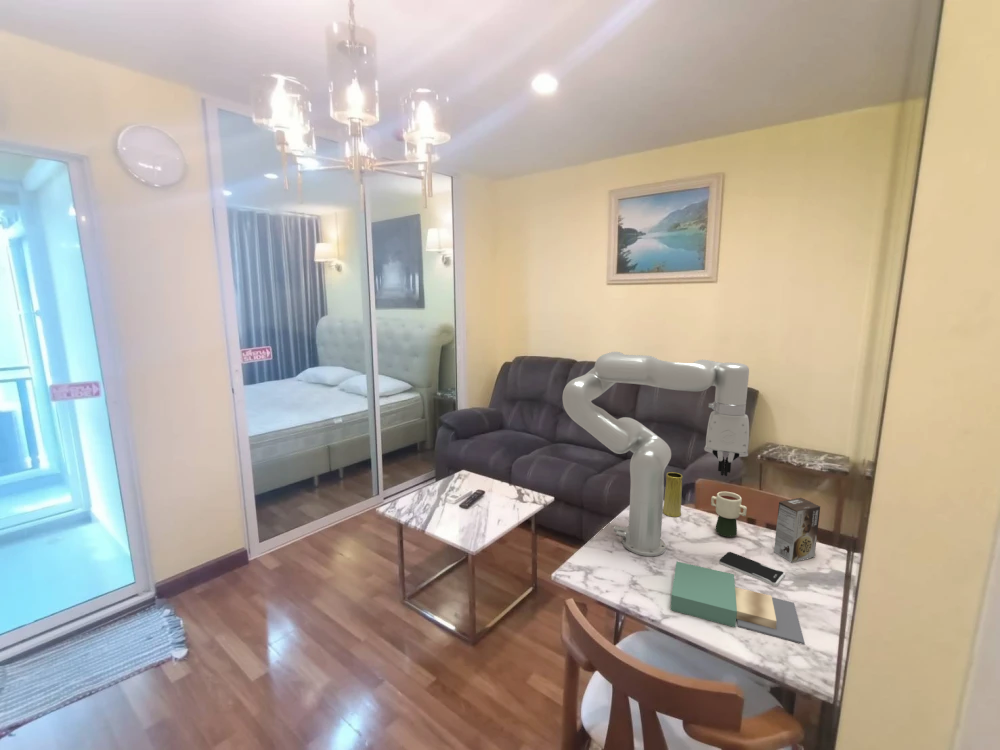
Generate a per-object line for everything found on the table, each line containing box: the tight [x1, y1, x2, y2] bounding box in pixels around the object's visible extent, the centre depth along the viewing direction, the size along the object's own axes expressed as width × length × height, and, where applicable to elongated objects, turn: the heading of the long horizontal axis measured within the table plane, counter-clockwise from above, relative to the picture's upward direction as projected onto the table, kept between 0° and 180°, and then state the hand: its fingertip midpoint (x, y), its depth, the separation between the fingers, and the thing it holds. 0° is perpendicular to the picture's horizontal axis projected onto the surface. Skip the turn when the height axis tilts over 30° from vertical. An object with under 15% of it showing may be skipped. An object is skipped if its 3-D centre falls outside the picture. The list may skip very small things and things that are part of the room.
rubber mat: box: [736, 597, 806, 645], centre depth 109 cm, size 13×15×1 cm
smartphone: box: [718, 551, 786, 587], centre depth 128 cm, size 8×1×15 cm
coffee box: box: [773, 497, 821, 563], centre depth 134 cm, size 9×6×16 cm
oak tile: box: [735, 586, 777, 629], centre depth 110 cm, size 8×10×2 cm
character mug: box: [710, 491, 748, 538], centre depth 146 cm, size 11×7×13 cm, turn 41°
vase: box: [662, 471, 683, 518], centre depth 160 cm, size 6×6×14 cm
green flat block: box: [670, 561, 737, 628], centre depth 115 cm, size 14×16×4 cm
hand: (723, 474), depth 125 cm, fingers closed
